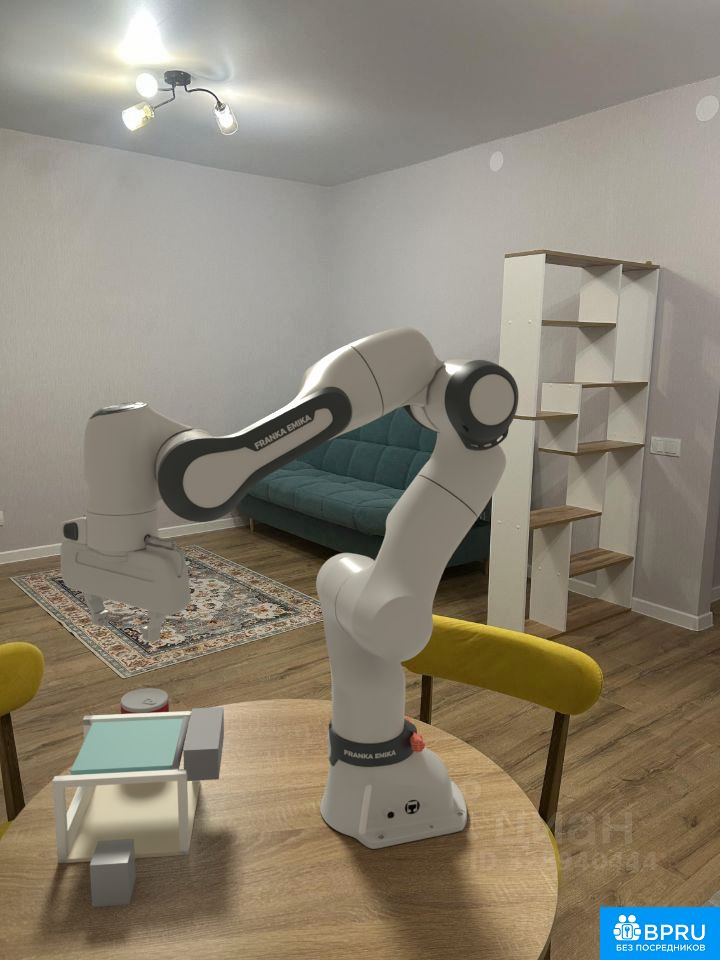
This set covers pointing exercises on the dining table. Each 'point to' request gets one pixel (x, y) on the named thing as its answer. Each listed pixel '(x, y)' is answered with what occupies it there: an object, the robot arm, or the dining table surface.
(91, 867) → the grey block
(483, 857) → the dining table surface
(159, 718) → the frame
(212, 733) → the trapdoor
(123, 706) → the canned food
